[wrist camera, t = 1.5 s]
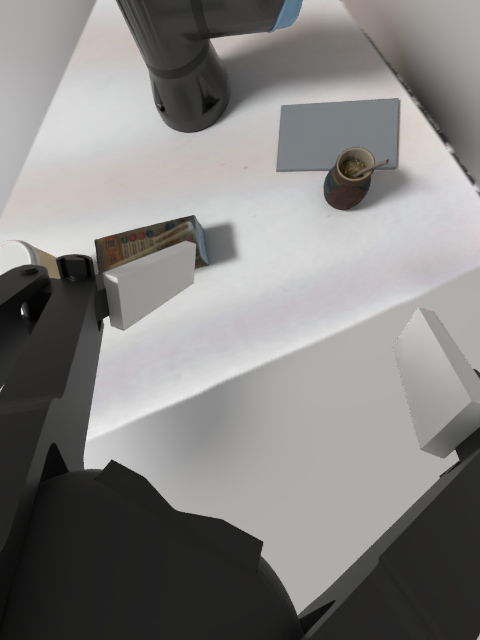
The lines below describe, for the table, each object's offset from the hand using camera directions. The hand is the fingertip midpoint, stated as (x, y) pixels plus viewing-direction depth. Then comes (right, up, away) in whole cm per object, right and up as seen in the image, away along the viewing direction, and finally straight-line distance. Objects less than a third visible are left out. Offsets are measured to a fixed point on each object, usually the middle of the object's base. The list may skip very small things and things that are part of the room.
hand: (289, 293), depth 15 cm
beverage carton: (-18, +10, +33) cm, 39 cm away
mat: (+15, +32, +30) cm, 46 cm away
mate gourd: (+15, +21, +29) cm, 39 cm away
